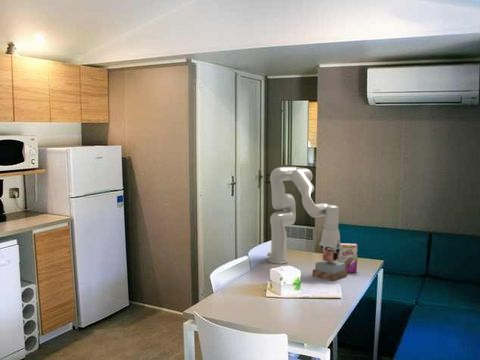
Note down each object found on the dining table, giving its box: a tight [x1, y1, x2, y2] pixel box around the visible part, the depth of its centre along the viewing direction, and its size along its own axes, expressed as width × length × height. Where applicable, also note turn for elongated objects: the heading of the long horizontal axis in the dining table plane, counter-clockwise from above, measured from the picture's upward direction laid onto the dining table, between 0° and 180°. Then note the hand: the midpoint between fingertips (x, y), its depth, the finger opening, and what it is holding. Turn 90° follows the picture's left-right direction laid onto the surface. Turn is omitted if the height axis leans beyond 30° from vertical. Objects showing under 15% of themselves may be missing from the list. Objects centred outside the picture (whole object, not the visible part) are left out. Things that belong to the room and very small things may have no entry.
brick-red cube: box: [322, 247, 338, 262], centre depth 266 cm, size 6×6×6 cm
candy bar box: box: [337, 242, 359, 274], centre depth 276 cm, size 11×5×16 cm, turn 84°
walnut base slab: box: [311, 268, 348, 282], centre depth 267 cm, size 14×14×4 cm
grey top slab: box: [314, 260, 345, 274], centre depth 267 cm, size 12×12×4 cm
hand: (330, 258), depth 267 cm, fingers closed on brick-red cube, 5 cm apart
